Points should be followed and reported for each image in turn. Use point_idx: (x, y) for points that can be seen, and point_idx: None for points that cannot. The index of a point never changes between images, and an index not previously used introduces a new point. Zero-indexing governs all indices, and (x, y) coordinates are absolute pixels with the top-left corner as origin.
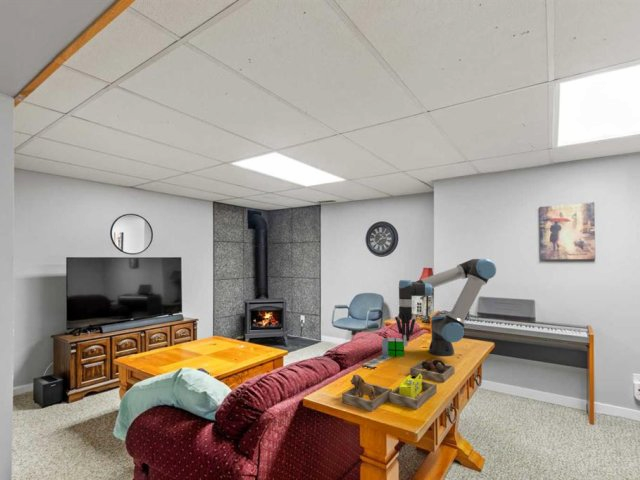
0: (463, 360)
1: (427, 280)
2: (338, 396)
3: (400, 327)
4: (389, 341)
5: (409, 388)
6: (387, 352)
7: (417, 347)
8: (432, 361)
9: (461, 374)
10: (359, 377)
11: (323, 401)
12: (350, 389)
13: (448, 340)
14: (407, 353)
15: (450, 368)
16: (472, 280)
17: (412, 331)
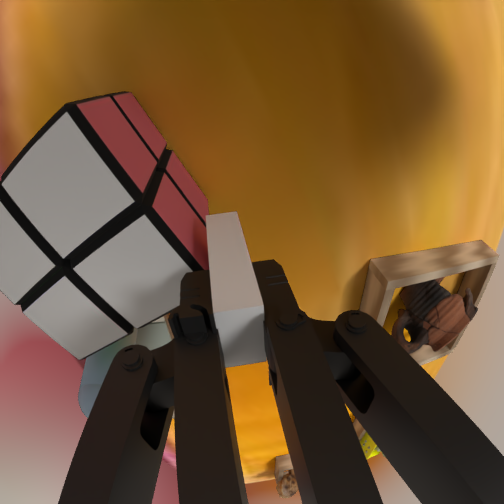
0: (493, 15)
1: None
2: (255, 473)
3: (144, 472)
4: (92, 353)
5: (379, 452)
6: (136, 333)
7: None
8: (443, 347)
9: (495, 235)
10: (294, 493)
11: (249, 481)
12: (278, 481)
13: None
14: (135, 25)
15: (483, 290)
16: None
17: (396, 360)
